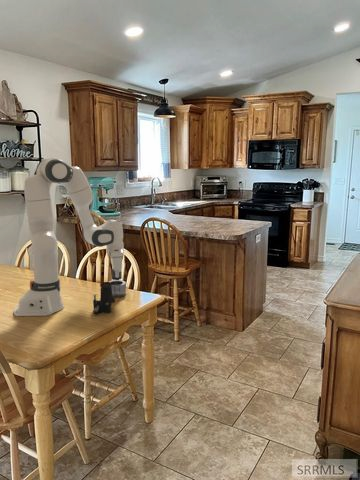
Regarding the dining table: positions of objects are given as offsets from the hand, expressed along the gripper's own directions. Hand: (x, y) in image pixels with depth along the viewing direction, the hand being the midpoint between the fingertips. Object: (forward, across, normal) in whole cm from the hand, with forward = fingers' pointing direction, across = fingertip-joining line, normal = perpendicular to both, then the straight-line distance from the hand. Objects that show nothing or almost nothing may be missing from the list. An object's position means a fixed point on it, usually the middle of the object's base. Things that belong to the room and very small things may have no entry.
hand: (116, 275), depth 205 cm
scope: (+11, +23, -8) cm, 27 cm away
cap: (+2, 0, 0) cm, 2 cm away
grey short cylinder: (+11, 0, 0) cm, 11 cm away
